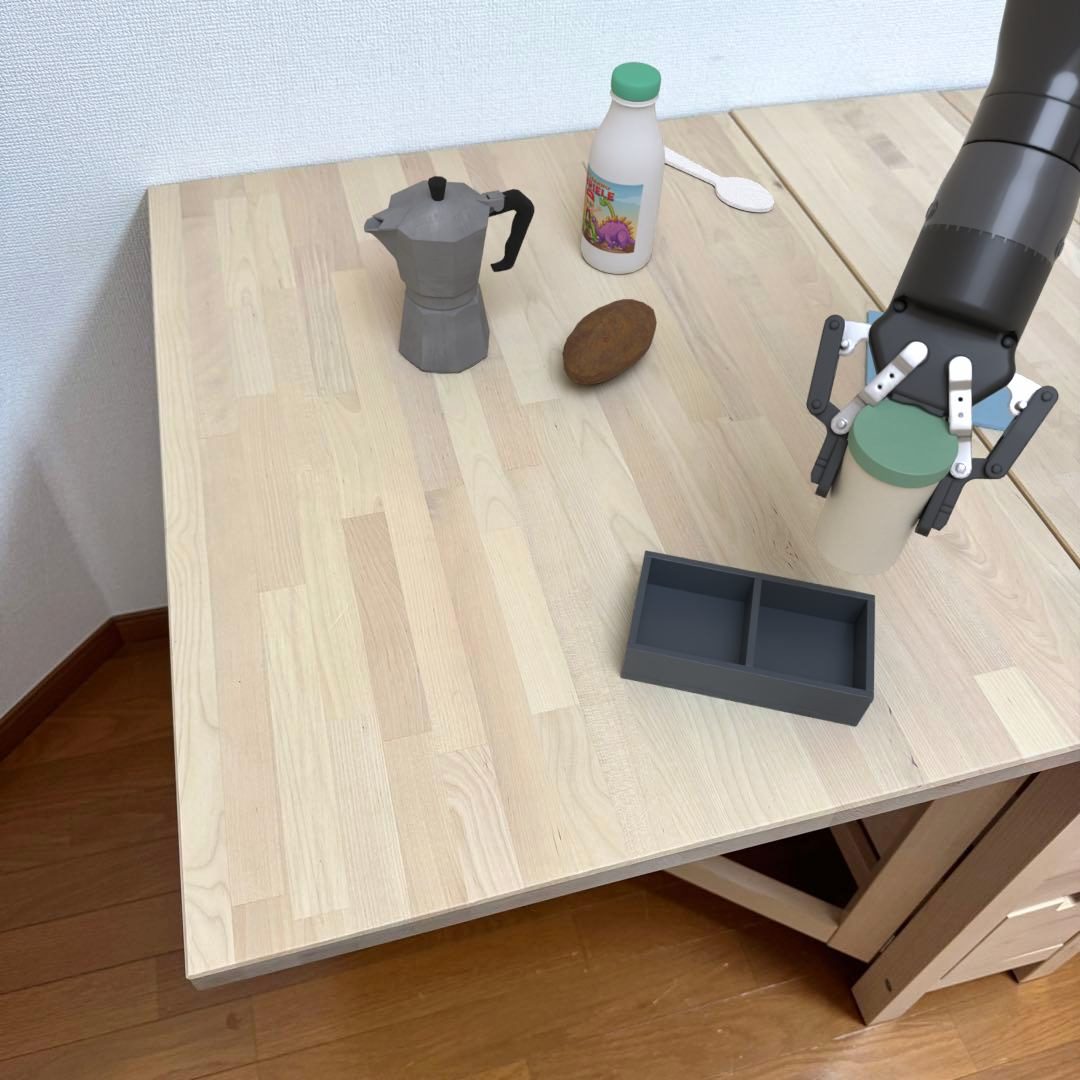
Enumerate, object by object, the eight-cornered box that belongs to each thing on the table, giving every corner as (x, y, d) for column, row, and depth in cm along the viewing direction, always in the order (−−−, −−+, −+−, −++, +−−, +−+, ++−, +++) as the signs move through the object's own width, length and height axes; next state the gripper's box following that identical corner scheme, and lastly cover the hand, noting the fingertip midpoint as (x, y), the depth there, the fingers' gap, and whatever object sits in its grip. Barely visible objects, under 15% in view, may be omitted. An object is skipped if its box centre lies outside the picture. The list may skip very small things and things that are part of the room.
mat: (1005, 336, 102) (1007, 333, 102) (1016, 433, 94) (1018, 429, 93) (867, 313, 103) (868, 309, 103) (865, 406, 95) (866, 402, 95)
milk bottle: (618, 223, 111) (639, 43, 95) (666, 258, 108) (696, 77, 92) (565, 249, 108) (578, 67, 92) (613, 285, 105) (634, 103, 89)
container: (902, 515, 67) (957, 408, 59) (902, 587, 63) (961, 483, 55) (811, 499, 67) (854, 390, 59) (807, 569, 64) (852, 463, 56)
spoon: (660, 139, 122) (660, 135, 122) (783, 199, 115) (784, 195, 115) (632, 156, 119) (633, 152, 119) (757, 219, 112) (758, 215, 112)
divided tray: (638, 581, 81) (645, 549, 78) (859, 625, 80) (875, 594, 76) (620, 677, 76) (626, 648, 72) (856, 727, 74) (874, 699, 71)
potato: (541, 384, 95) (544, 327, 90) (610, 322, 101) (617, 265, 95) (599, 416, 93) (605, 360, 87) (666, 352, 99) (676, 295, 93)
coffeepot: (391, 389, 94) (374, 224, 80) (367, 326, 99) (346, 161, 85) (545, 356, 97) (555, 192, 83) (513, 296, 103) (517, 133, 89)
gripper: (1100, 295, 59) (980, 556, 62) (865, 222, 63) (762, 472, 66) (1134, 270, 52) (997, 566, 55) (867, 189, 56) (751, 471, 59)
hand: (869, 513), depth 60 cm, fingers closed on container, 5 cm apart
